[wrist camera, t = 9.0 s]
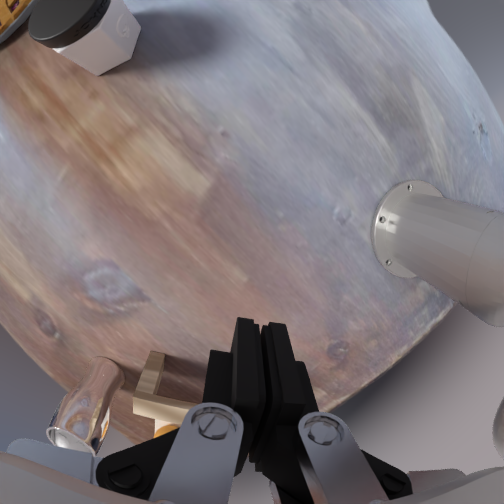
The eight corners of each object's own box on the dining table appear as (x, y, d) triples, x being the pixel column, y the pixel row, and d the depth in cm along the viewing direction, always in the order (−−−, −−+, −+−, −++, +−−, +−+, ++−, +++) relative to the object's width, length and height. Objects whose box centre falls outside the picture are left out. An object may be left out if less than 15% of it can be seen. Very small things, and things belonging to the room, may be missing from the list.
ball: (186, 432, 42) (190, 424, 39) (184, 460, 37) (189, 455, 34) (154, 427, 40) (156, 418, 37) (151, 455, 36) (152, 450, 33)
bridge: (150, 350, 35) (132, 396, 27) (256, 370, 37) (263, 419, 28) (149, 367, 36) (133, 413, 27) (251, 386, 38) (256, 434, 29)
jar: (128, 76, 26) (81, 38, 14) (71, 78, 25) (14, 51, 14) (149, 13, 24) (118, -39, 12) (92, 18, 23) (49, -23, 11)
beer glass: (135, 388, 37) (108, 465, 23) (99, 390, 37) (67, 460, 23) (114, 351, 35) (74, 428, 21) (78, 356, 35) (34, 423, 21)
